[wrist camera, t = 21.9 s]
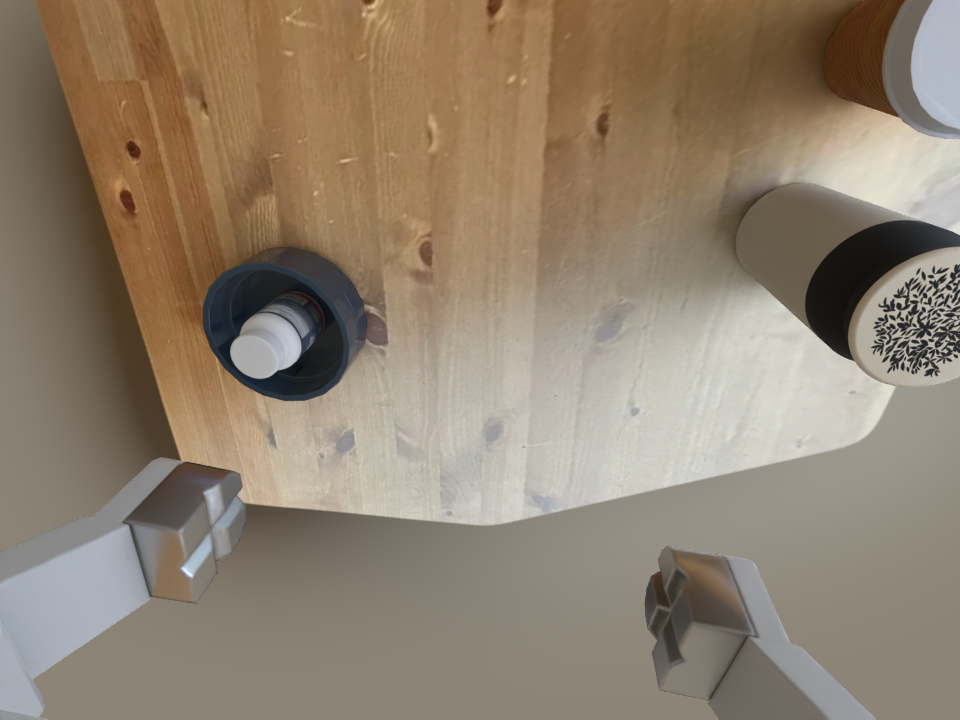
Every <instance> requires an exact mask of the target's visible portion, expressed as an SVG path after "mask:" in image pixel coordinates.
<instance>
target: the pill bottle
mask: <svg viewBox="0 0 960 720" xmlns="http://www.w3.org/2000/svg"><path fill="white" fill-rule="evenodd" d="M324 327H325V315H324V312H323V310H322V308H321V306H320V305H319V304H318V302H317V301H316V300H315V299H313V298H312V297H311V296H309V295H307V294H305V293H303V292H299V291H289V292H285V293H283V294H281V295H279V296H278V297H277V298H275V299H274V300H273V301H272V302H271V303H269V304H268V305H267V306H266V307H264V308H263V309H262V310H260V311H259V312H258V313H256V314H255V315H253V316H252V317H251V318H249V319H248V320H247V321H246V322H245V323H244V325H243V326H242V328H241V332H240V336H238V337H237V338H236V339H235V340H234V341H233V343H232V345H231V348H230V354H231V358H232V361H233V363H234V364H235V366H236V367H237V368H238V369H239V370H240V371H241V372H242V373H244V374H246V375H247V376H250V377H252V378H257V379H263V378H267V377H270V376H272V375H273V374H274V373H275V372H276V371H277V370H283V369H286V368H288V367H290V366H291V365H292V364H294V363H295V362H296V361H297V360H298V359H299V358H300V357H301V356H302V354H303V353H304V352H305V351H306V350H307V349H308V348H309V347H310V346H311V345H312V344H313V343H314V342H315V341H316V340H317V339H318V338H319V336H320V335H321V334H322V332H323V330H324Z"/></svg>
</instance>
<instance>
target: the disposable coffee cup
mask: <svg viewBox="0 0 960 720" xmlns="http://www.w3.org/2000/svg"><path fill="white" fill-rule="evenodd" d="M824 74H825V78H826V81H827V83H828V85H829V86H830V88H831V89H832V90H833V92H834V93H835V94H837V95H838V96H839V97H841V98H843V99H845V100H849V101H852V102H855V103H858V104H861V105H864V106H867V107H870V108H872V109H876V110H879V111H882V112H885V113H887V114H890V115H893V116H896V117H900V118H901V119H902V121H903V122H905V123H906V124H908V125H909V126H911V127H912V128H914V129H915V130H917V131H919V132H921V133H924V134H926V135H929V136H933V137H938V138H944V139H960V0H867V1H865V2H864V3H862V4H860V5H859V6H857V7H856V8H855V9H853V10H852V11H851V12H850V13H849V14H847V16H846V17H845V18H844V19H843V20H842V21H841V22H840V23H839V25H838V26H837V28H836V30H835V31H834V33H833V34H832V36H831V38H830V40H829V42H828V45H827V48H826V52H825V55H824Z"/></svg>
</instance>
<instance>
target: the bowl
mask: <svg viewBox="0 0 960 720" xmlns="http://www.w3.org/2000/svg"><path fill="white" fill-rule="evenodd" d="M289 291H299V292H303V293H305V294H307V295H309V296H311V297H312V298H313V299H315V300H316V301H317V302H318V304H319V305H320V306H321V308H322V310H323V312H324V315H325V327H324V330H323V332H322V334H321V335H320V336H319V338H318V339H317V340H316V341H315V342H314V343H313V344H312V345H311V346H310V347H309V348H308V349H307V350H306V351H305V352H304V353H303V354H302V356H301V357H300V358H299V359H298V360H297V361H296V362H295V363H294V364H292V365H291V366H290V367H288V368H286V369H283V370H277V371H276V372H275V373H274V374H273V375H272V376H270V377H267V378H263V379H257V378H252V377H250V376H247V375H246V374H244V373H242V372H241V371H240V370H239V369H238V368H237V367H236V366H235V364H234V363H233V361H232V358H231V354H230V348H231V345H232V343H233V341H234V340H235V339H236V338H237V337H238V336H240V332H241V328H242V326H243V325H244V323H245V322H246V321H247V320H248V319H249V318H251V317H252V316H253V315H255V314H256V313H258V312H259V311H260V310H262V309H263V308H264V307H266V306H267V305H268V304H269V303H271V302H272V301H273V300H274V299H275V298H277V297H278V296H279V295H281V294H283V293H285V292H289ZM203 327H204V331H205V334H206V337H207V339H208V342H209V345H210V348H211V349H212V351H213V353H214V354H215V355H216V357H217V358H218V360H219V361H220V363H221V364H222V365H223V367H224V368H225V369H226V370H227V371H228V372H229V373H230V374H231V375H233V376H234V377H235V378H236V379H237V380H238V381H239V382H240V383H242V384H243V385H245V386H247V387H249V388H250V389H252V390H254V391H256V392H258V393H260V394H262V395H264V396H268V397H272V398H276V399H279V400H283V401H305V400H309V399H312V398H315V397H318V396H321V395H324V394H325V393H327V392H328V391H329V390H330V389H331V388H333V387H334V386H335V385H336V384H338V383H339V382H340V380H341V379H342V377H343V376H344V375H345V373H346V372H347V371H348V369H349V368H350V366H351V365H352V364H353V362H354V361H355V359H356V358H357V356H358V354H359V353H360V351H361V349H362V347H363V345H364V343H365V338H366V330H367V319H366V314H365V309H364V304H363V301H362V299H361V297H360V296H359V294H358V292H357V290H356V288H355V286H354V285H353V283H352V282H351V281H350V280H349V279H348V278H347V277H346V276H345V275H344V274H343V273H342V271H341V270H340V269H339V268H338V267H337V266H335V265H334V264H333V263H331V262H329V261H328V260H326V259H324V258H323V257H321V256H319V255H317V254H316V253H313V252H309V251H305V250H302V249H298V248H294V247H281V248H270V249H267V250H265V251H263V252H260V253H258V254H256V255H254V256H252V257H250V258H248V259H246V260H244V261H243V262H241V263H239V264H237V265H235V266H234V267H232V268H230V269H228V270H226V271H225V272H223V273H222V274H221V275H220V276H219V277H218V278H217V279H216V281H215V282H214V283H213V284H212V285H211V286H210V287H209V290H208V293H207V296H206V299H205V301H204V304H203Z"/></svg>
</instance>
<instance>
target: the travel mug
mask: <svg viewBox="0 0 960 720" xmlns="http://www.w3.org/2000/svg"><path fill="white" fill-rule="evenodd" d="M736 252H737V256H738V259H739V261H740V263H741V265H742V267H743V268H744V269H745V270H746V271H747V272H748V273H749V274H750V275H751V276H752V277H753V278H754V279H755V280H757V281H758V282H759V283H760V284H761V285H762V286H763V287H764V288H765V289H766V290H767V291H769V292H770V293H771V294H772V295H773V296H774V297H775V298H776V299H777V300H778V301H780V302H781V303H782V304H783V305H784V306H785V307H786V308H787V309H788V310H789V311H790V312H792V313H793V314H794V315H795V316H796V317H797V318H798V319H799V320H800V321H801V322H803V323H804V324H805V325H806V326H807V327H808V328H809V329H810V330H811V331H812V332H814V333H815V334H816V335H817V336H818V337H819V338H820V339H821V340H822V341H823V342H824V343H826V344H827V345H828V346H829V347H830V348H831V349H832V350H833V351H835V352H836V353H837V354H839V355H841V356H843V357H845V358H847V359H850V360H853V361H855V362H856V363H857V365H858V366H859V367H860V368H861V369H862V370H863V371H864V372H865V373H866V374H867V375H869V376H870V377H872V378H874V379H876V380H878V381H880V382H883V383H885V384H889V385H893V386H899V387H924V386H931V385H935V384H940V383H944V382H947V381H950V380H953V379H956V378H958V377H960V235H958V234H956V233H954V232H952V231H949V230H946V229H943V228H940V227H937V226H934V225H931V224H929V223H926V222H923V221H920V220H917V219H914V218H911V217H909V216H906V215H903V214H900V213H897V212H894V211H891V210H888V209H886V208H883V207H880V206H877V205H874V204H871V203H868V202H865V201H863V200H860V199H857V198H854V197H851V196H848V195H845V194H842V193H840V192H837V191H834V190H831V189H828V188H825V187H822V186H819V185H816V184H811V183H795V184H789V185H786V186H782V187H780V188H777V189H775V190H773V191H771V192H769V193H768V194H766V195H765V196H763V197H762V198H761V199H759V200H758V201H757V202H756V203H755V204H754V205H753V206H752V207H751V208H750V209H749V211H748V212H747V213H746V215H745V216H744V218H743V220H742V222H741V224H740V226H739V229H738V232H737V236H736Z"/></svg>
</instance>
